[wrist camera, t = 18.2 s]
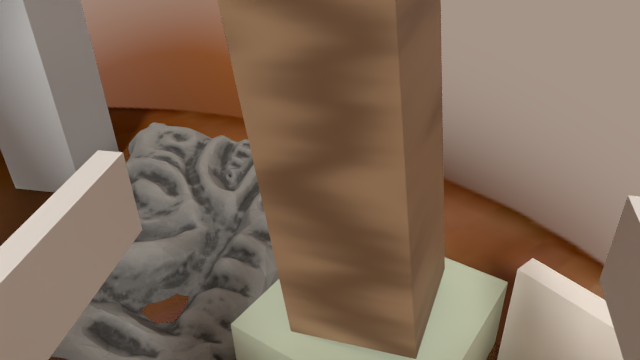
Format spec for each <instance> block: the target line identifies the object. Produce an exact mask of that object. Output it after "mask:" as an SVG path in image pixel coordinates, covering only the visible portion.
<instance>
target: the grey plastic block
mask: <svg viewBox="0 0 640 360" xmlns="http://www.w3.org/2000/svg"><path fill="white" fill-rule="evenodd" d="M0 149H1V152H2V154H3V157H4V160H5V162H6V165H7V167H8V170H9V173H10V175H11V178H12V180H13V183H14V185H15V188H17V189H26V190H36V191H45V192H56V191H57V190H58V189H59V188H60V187H61V186H62V185H63V184H64V183H65V182H66V181H67V180H68V179H69V178H70V177H71V176H72V175H73V174H74V173H75V172H76V171H77V170H78V169H79V168H80V167H81V166H82V165H83V164H84V163H85V162H86V161H88V160H89V159H90V158H91V157H92V156H93V155H94V154H95V153H96V152H97V151H98V150H101V151H112V152H119V150H118V146H117V142H116V138H115V134H114V130H113V127H112V123H111V119H110V115H109V111H108V107H107V103H106V99H105V95H104V91H103V87H102V83H101V79H100V75H99V71H98V67H97V63H96V59H95V55H94V52H93V48H92V44H91V40H90V36H89V32H88V28H87V24H86V20H85V16H84V12H83V8H82V4H81V0H0Z"/></svg>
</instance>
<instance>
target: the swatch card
mask: <svg viewBox="0 0 640 360" xmlns="http://www.w3.org/2000/svg"><path fill="white" fill-rule="evenodd" d="M497 360H623V357H622V353H621V350H620V347H619V343H618V340H617V337H616V333H615V330H614V327H613V324H612V320H611V317H610V314H609V310H608V307H607V304H606V301H605V300H604V299H602V298H600V297H598V296H597V295H595V294H593V293H592V292H590V291H588V290H586V289H585V288H583V287H581V286H580V285H578V284H576V283H575V282H573V281H571V280H569V279H568V278H566V277H564V276H563V275H561V274H559V273H557V272H556V271H554V270H552V269H551V268H549V267H547V266H546V265H544V264H542V263H540V262H539V261H537V260H535V259H534V258H532V259H531V260H530V261H528V262H527V263H525V264H524V265H523V266H521V267H520V268H519V269H518V270H517V274H516V279H515V283H514V287H513V292H512V296H511V301H510V305H509V309H508V314H507V318H506V323H505V327H504V331H503V336H502V340H501V345H500V349H499V353H498V358H497Z"/></svg>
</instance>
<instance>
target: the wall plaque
mask: <svg viewBox="0 0 640 360" xmlns="http://www.w3.org/2000/svg"><path fill="white" fill-rule="evenodd" d="M128 150H129V153H130V155H131V156H130V158H129V160H128V161H127V162H125V163H126V167H127V171H128V175H129V179H130V183H131V187H132V191H133V195H134V199H135V203H136V207H137V211H138V215H139V219H140V223H141V227H142V231H141V232H140V234H139V235H138V236H137V238H136V239H135V241H134V242H133V243H132V245H131V246H130V248H129V249H128V250H127V252H126V253H125V254H124V256H123V257H122V259H121V260H120V261H119V263H118V264H117V266H116V267H115V268H114V270H113V271H112V272H111V274H110V275H109V277H108V278H107V279H106V281H105V282H104V283H103V285H102V286H101V288H100V289H99V290H98V292H97V293H96V295H95V296H94V297H93V299H92V300H91V301H90V303H89V304H88V306H87V307H86V308H85V310H84V311H83V312H82V314H81V315H80V317H79V318H78V319H77V321H76V322H75V324H74V325H73V326H72V328H71V329H70V330H69V332H68V333H67V335H66V336H65V337H64V339H63V340H62V341H61V343H60V344H59V346H58V347H57V348H56V350H55V351H54V353H53V354H52V355H51V357H58V358H64V359H68V360H234V359H235V358H236V354H235V348H234V342H233V335H232V329H231V324H232V323H233V322H234V321H235V320H236V319H237V318H238V317H239V316H240V315H241V314H242V313H243V312H244V311H245V310H246V309H247V308H249V307H250V306H251V305H252V304H253V303H254V302H255V301H256V300H257V299H258V298H259V297H260V296H261V295H262V294H263V293H264V292H266V291H267V290H268V289H269V288H270V287H271V286H272V285H273V284H274V283H275V282H276V281H277V280H278V279H279V275H278V271H277V266H276V262H275V257H274V253H273V248H272V244H271V239H270V235H269V230H268V226H267V221H266V217H265V212H264V208H263V203H262V199H261V194H260V190H259V185H258V181H257V176H256V172H255V167H254V163H253V158H252V154H251V149H250V145H249V140H246V139H245V140H242V141H240V142H234V141H232V140H230V139H229V138H227V137H225V136H224V135H223V136H218V137H215V138H213V139H212V138H210V137H208V136H206V135H204V134H202V133H199V132H197V131H195V130H192V129H189V128H184V127H176V126H166V125H165V124H164V123H155V122H154V123H152V124H150V125H149V126H148V128H146V129H143V130H141V131H140V132H139V133H138V134H137V135H136V136H135V137H134V138H133V139H132V141H131V142H130V143H129V148H128ZM229 174H230V175H231V177H230V176H229ZM175 294H179V295H185V296H189V299H188V302H187V306H186V308H185V309H184V311H183V312H182V313H181V315H180V316H179V317H178V318H177V319H176V320H175V321H174V322H170V323H155V322H152V321H151V320H150V319H148V318H147V317H146V316H145V315H144V314H143V313H142V312H141V310H142V309H143V308H144V307H145V306H146V305H148V304H150V303H155V302H159V301H162V300H165V299H168V298H170V297H172V296H174V295H175Z"/></svg>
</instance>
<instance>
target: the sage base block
mask: <svg viewBox="0 0 640 360" xmlns="http://www.w3.org/2000/svg"><path fill="white" fill-rule="evenodd" d="M507 285H508V282H506V281H504V280H501V279H499V278H496V277H494V276H491V275H488V274H486V273H483V272H481V271H478V270H476V269H473V268H471V267H468V266H466V265H463V264H460V263H458V262H455V261H453V260H450V259H448V258H445V270H444V273H443V276H442V279H441V282H440V285H439V288H438V292H437V295H436V298H435V301H434V304H433V307H432V311H431V314H430V317H429V320H428V323H427V326H426V329H425V333H424V336H423V339H422V342H421V345H420V348H419V352H418V355H417V358H416V359H413V358H408V357H404V356H399V355H395V354H390V353H386V352H381V351H377V350H372V349H368V348H364V347H359V346H355V345H350V344H346V343H341V342H337V341H332V340H328V339H323V338H319V337H314V336H310V335H305V334H301V333H297V332H292V331H291V329H290V325H289V320H288V316H287V311H286V307H285V302H284V298H283V293H282V289H281V284H280V280H279V279H278V280H277V281H276V282H275V283H274V284H273V285H272V286H271V287H270V288H269V289H268V290H267V291H266V292H264V293H263V294H262V295H261V296H260V297H259V298H258V299H257V300H256V301H255V302H254V303H253V304H252V305H251V306H250V307H249V308H247V309H246V310H245V311H244V312H243V313H242V314H241V315H240V316H239V317H238V318H237V319H236V320H235V321H234V322H233V323H232V324H231V329H232V335H233V342H234V348H235V354H236V360H486V359H487V357H488V355H489V353H490V351H491V350H492V348H493V346H494V344H495V341H496V336H497V331H498V327H499V322H500V317H501V313H502V308H503V303H504V299H505V294H506V289H507Z"/></svg>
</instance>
